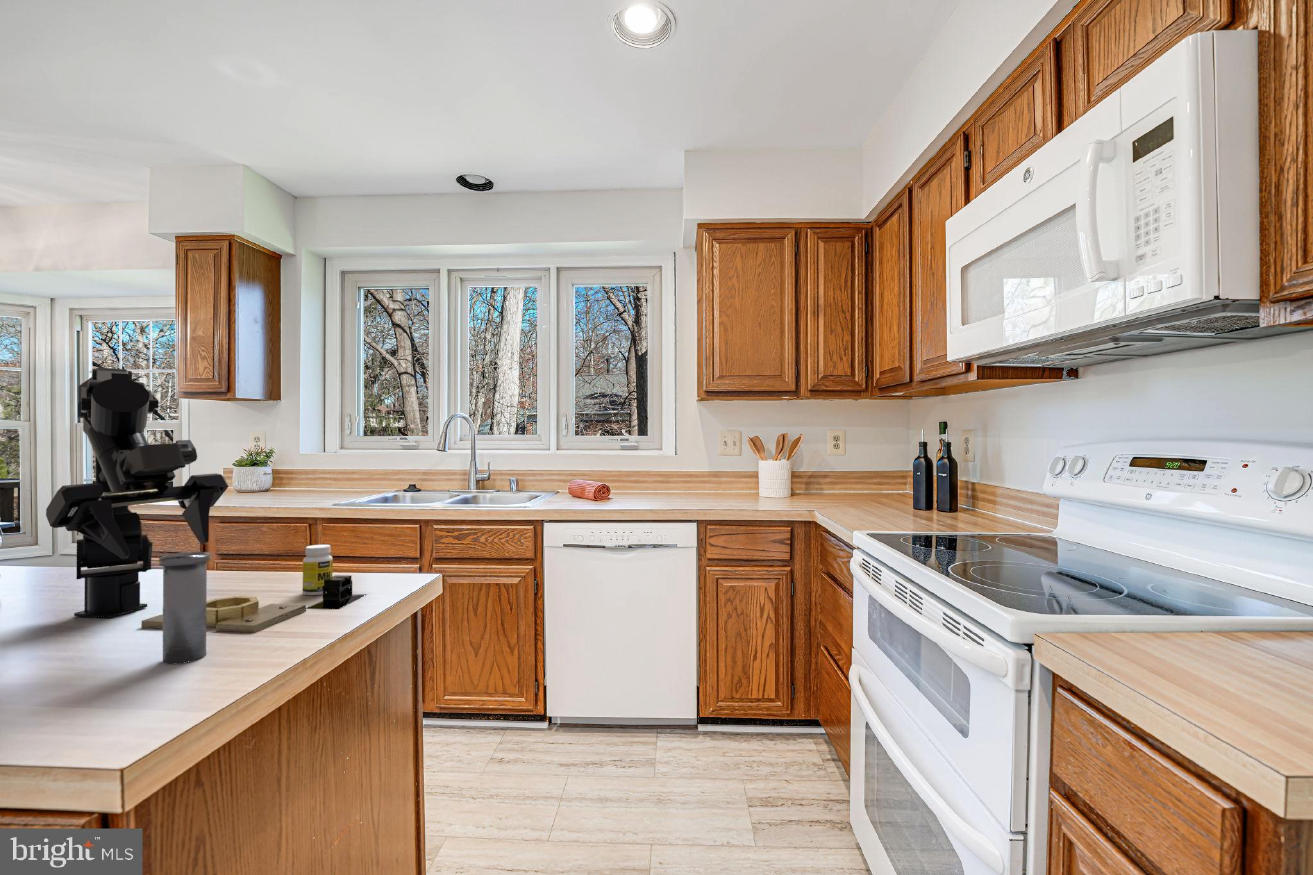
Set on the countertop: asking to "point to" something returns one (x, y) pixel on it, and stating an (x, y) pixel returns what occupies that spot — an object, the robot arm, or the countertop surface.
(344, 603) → the black notched mount
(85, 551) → the robot arm
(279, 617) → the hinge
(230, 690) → the countertop surface
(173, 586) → the hinge pin
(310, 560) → the supplement bottle
